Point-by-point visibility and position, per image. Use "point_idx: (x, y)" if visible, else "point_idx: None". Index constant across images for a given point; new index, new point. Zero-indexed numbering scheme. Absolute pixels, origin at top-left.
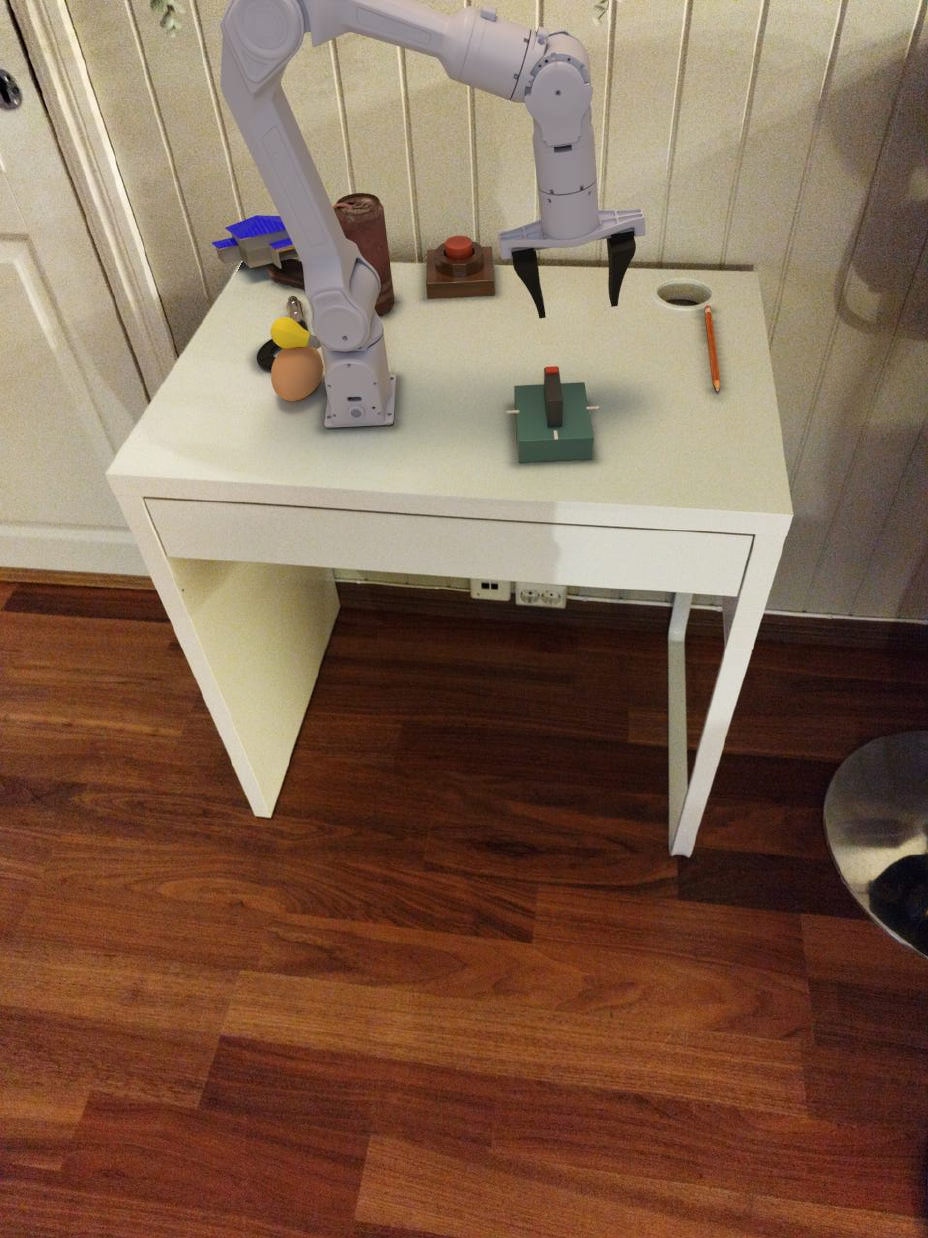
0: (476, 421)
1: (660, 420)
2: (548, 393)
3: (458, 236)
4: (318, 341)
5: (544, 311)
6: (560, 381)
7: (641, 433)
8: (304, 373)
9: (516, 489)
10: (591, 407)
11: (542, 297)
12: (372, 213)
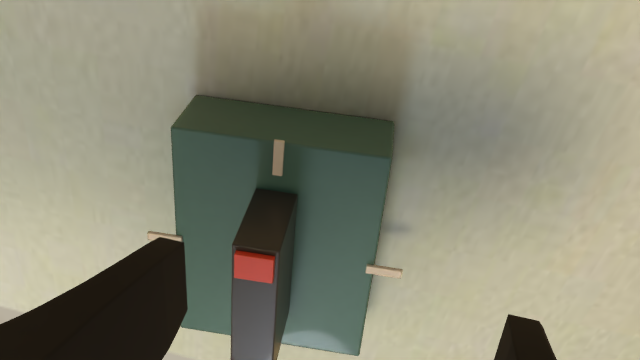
0: (94, 130)
1: (582, 228)
2: (234, 347)
3: None
4: None
5: (169, 342)
6: (276, 311)
7: (510, 260)
8: None
9: (193, 343)
10: (379, 272)
11: (142, 342)
12: None
